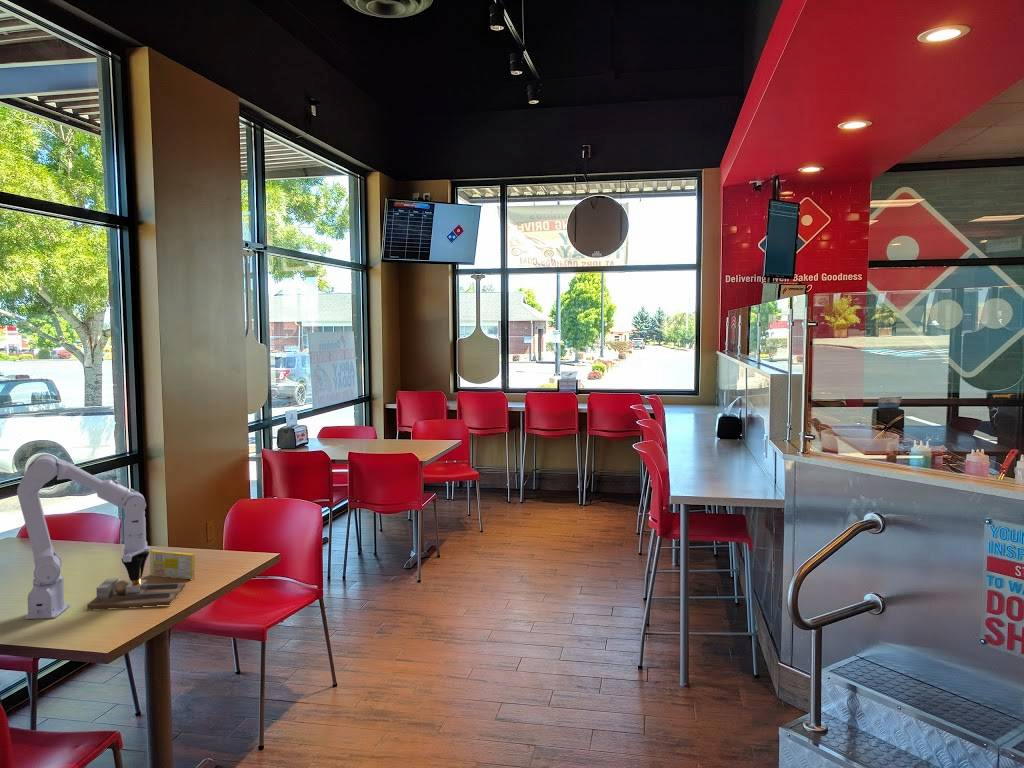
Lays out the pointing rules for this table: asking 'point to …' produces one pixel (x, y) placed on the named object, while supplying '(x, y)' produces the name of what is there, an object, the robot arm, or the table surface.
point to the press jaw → (137, 586)
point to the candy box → (172, 564)
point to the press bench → (134, 596)
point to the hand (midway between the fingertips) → (136, 578)
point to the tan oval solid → (121, 587)
